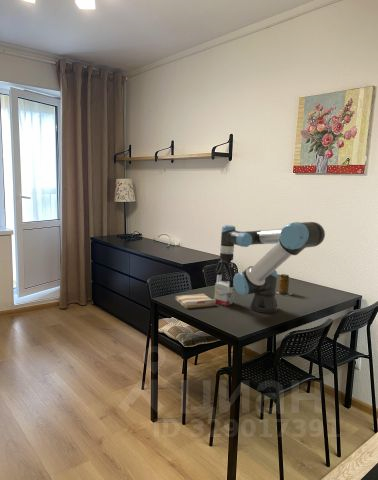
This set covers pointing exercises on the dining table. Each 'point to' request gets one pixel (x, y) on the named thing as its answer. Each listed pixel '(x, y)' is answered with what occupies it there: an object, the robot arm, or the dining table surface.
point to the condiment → (284, 285)
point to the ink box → (223, 293)
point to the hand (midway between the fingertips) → (224, 288)
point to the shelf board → (195, 300)
